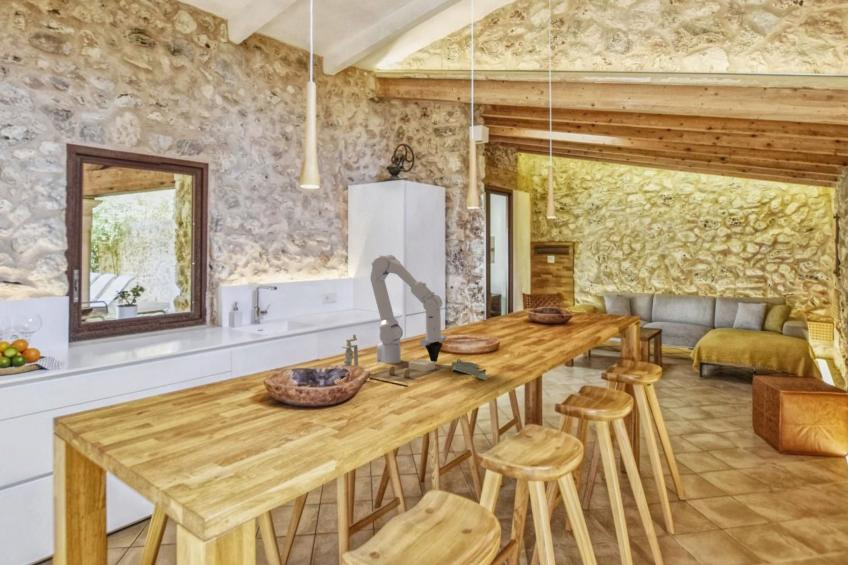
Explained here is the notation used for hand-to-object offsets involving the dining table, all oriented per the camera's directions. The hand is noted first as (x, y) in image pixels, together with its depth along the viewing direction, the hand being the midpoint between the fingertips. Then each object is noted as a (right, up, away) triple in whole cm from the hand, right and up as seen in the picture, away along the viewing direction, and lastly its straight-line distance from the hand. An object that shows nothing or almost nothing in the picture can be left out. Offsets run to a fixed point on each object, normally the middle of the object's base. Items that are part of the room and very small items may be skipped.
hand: (433, 361), depth 189 cm
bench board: (-10, -4, -9) cm, 14 cm away
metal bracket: (+13, -4, -10) cm, 16 cm away
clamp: (-32, -4, -10) cm, 34 cm away
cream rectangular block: (-5, -2, -6) cm, 8 cm away
